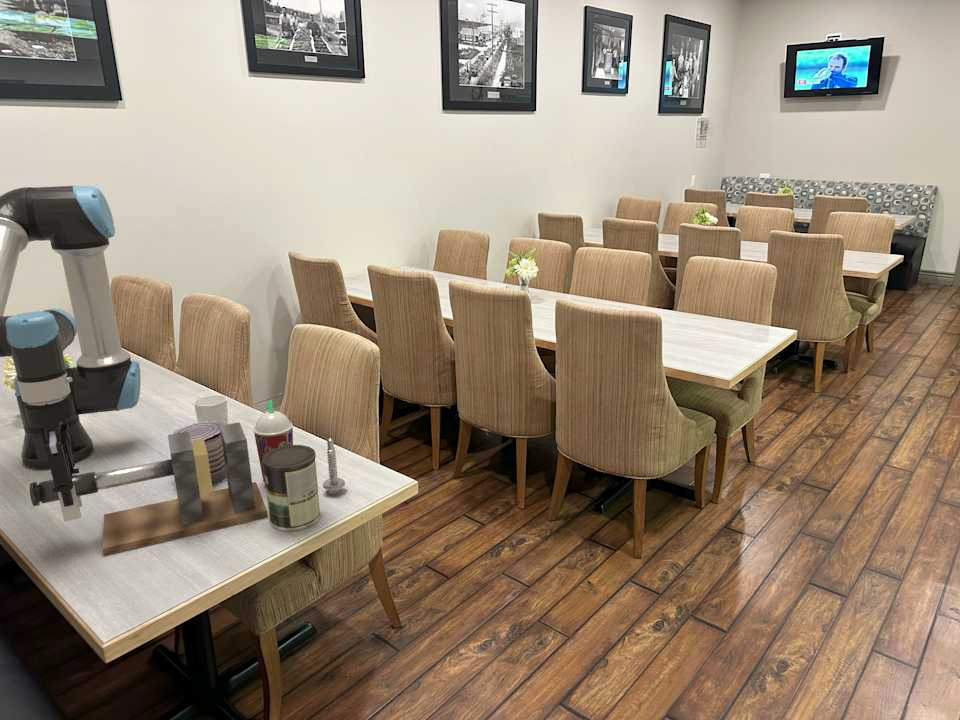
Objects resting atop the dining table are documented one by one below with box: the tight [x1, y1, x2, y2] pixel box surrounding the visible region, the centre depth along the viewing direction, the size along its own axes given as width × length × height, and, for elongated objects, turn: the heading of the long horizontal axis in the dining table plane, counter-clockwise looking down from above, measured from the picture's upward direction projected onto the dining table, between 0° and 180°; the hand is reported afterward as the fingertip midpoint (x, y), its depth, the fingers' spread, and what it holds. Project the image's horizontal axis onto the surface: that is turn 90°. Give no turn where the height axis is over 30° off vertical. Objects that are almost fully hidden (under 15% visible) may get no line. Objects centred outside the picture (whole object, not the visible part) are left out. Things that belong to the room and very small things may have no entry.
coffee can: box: [262, 444, 321, 532], centre depth 138 cm, size 10×10×14 cm
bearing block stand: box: [101, 421, 269, 557], centre depth 138 cm, size 30×14×17 cm, turn 116°
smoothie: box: [252, 399, 294, 483], centre depth 152 cm, size 8×8×20 cm
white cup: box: [193, 394, 229, 425], centre depth 179 cm, size 8×8×10 cm
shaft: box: [29, 458, 174, 507], centre depth 132 cm, size 28×4×4 cm, turn 116°
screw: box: [322, 437, 346, 496], centre depth 148 cm, size 13×5×5 cm
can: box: [172, 420, 227, 487], centre depth 156 cm, size 11×11×12 cm
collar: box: [191, 438, 214, 495], centre depth 139 cm, size 2×8×8 cm, turn 26°
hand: (73, 512), depth 130 cm, fingers closed on shaft, 4 cm apart
